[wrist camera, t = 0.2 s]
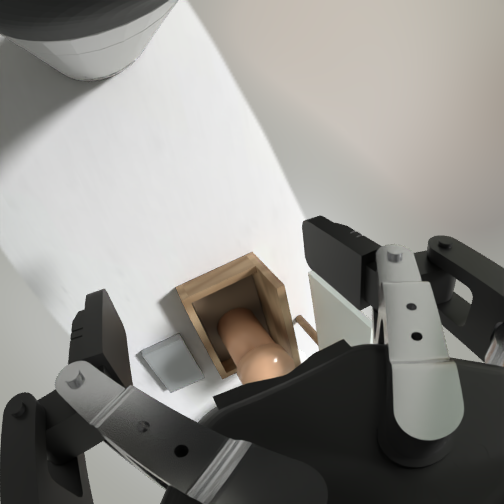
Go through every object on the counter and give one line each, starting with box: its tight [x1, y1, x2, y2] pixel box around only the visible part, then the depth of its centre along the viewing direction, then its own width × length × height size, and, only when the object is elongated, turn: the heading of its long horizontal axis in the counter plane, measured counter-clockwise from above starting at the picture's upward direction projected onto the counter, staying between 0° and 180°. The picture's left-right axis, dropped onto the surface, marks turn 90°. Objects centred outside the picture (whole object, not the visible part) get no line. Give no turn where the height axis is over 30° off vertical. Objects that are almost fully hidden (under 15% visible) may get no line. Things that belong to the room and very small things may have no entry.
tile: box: [142, 334, 205, 393], centre depth 37 cm, size 8×5×1 cm, turn 15°
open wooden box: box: [176, 252, 319, 379], centre depth 33 cm, size 14×13×12 cm
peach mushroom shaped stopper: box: [217, 308, 295, 385], centre depth 34 cm, size 6×6×9 cm
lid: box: [308, 270, 373, 351], centre depth 30 cm, size 14×1×9 cm, turn 15°
